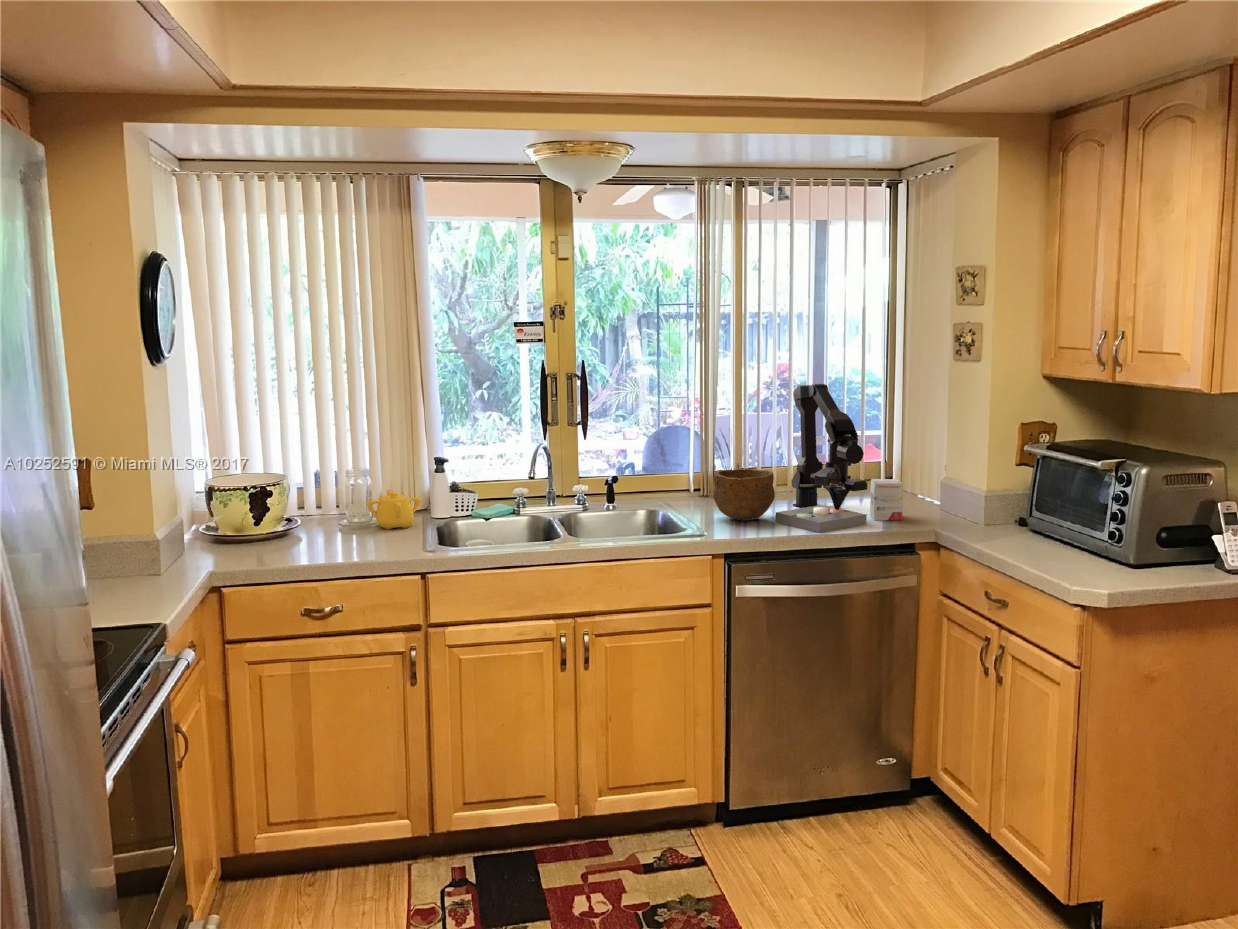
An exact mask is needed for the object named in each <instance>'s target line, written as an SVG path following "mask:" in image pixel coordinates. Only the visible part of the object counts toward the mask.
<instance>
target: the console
mask: <svg viewBox="0 0 1238 929" xmlns="http://www.w3.org/2000/svg"><path fill="white" fill-rule="evenodd" d="M814 507H826V508H828V515H823V516H819V515H815V514H813V509H814ZM831 508H834V506H830V505H826V504H825V505H824V504H818V506H812V507H806V508H802V507H798V508H793V509H787V510H780V511H775V517H774V518H775V521H774V522H775V523H778V524H783V525H786V526H791V527H795V528H798V529H802V530H807V531H811V532H814V531H816V532H815V533H818V532H820V533H823V532H822V531H826V532H829V531H836V530H837V531H838V530H842V529H848V528H852V527H858V526H864V524H865V525H867V513H866V514H865V513H862V512H858V511H857V512H856V511H853V510H848V509H844V510H845V512H841V513H835V512H830V509H831ZM800 513H806V514H811V515H812V517H811V518H805V519H803V518H799V517H797V514H800Z"/></svg>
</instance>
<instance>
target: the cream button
mask: <svg viewBox="0 0 1238 929" xmlns="http://www.w3.org/2000/svg"><path fill="white" fill-rule="evenodd" d="M813 514H815V515H819V516H823V515H828V508H826V507H814V509H813Z"/></svg>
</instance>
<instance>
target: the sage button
mask: <svg viewBox="0 0 1238 929" xmlns="http://www.w3.org/2000/svg"><path fill="white" fill-rule="evenodd" d="M797 517H799V518H803V519H805V518H811V517H812V515H811V514H806V513H800V514H797Z"/></svg>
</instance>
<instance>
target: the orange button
mask: <svg viewBox="0 0 1238 929" xmlns="http://www.w3.org/2000/svg"><path fill="white" fill-rule="evenodd" d="M845 510H846V509H844V508H842V507H840V509H839V510H835V508H831V509H830V512H835V513H841V512H845Z"/></svg>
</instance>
